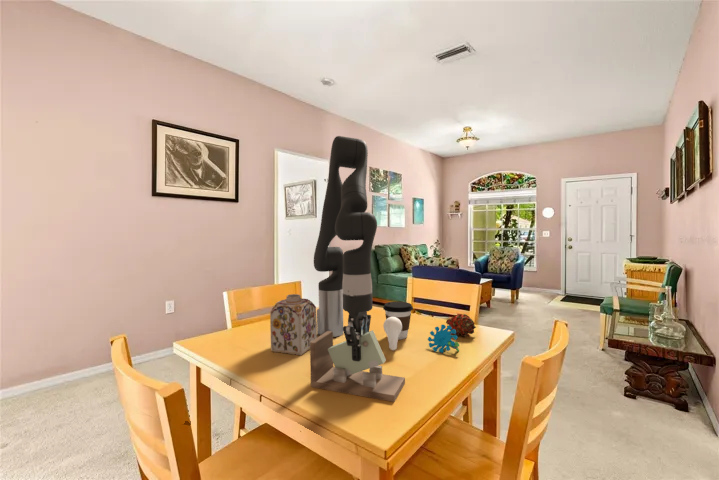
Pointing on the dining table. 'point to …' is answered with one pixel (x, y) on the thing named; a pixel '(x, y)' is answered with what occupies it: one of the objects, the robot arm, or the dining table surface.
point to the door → (369, 355)
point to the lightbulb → (392, 331)
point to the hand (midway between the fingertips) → (358, 358)
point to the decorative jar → (293, 325)
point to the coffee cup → (400, 315)
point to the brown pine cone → (461, 324)
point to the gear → (443, 339)
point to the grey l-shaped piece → (355, 384)
